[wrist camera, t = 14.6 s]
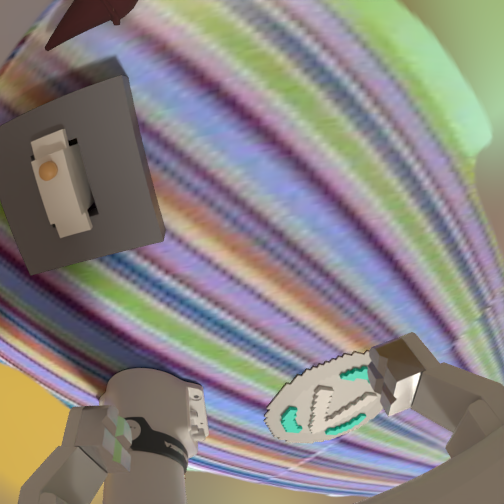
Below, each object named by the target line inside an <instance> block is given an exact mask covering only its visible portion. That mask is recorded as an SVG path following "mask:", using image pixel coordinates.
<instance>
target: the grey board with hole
mask: <svg viewBox="0 0 504 504" xmlns="http://www.w3.org/2000/svg"><path fill="white" fill-rule="evenodd" d="M62 129H65V130H66V135H67V139H68V141H70V140H73V139H75V138H77V141H78V145H79V148H80V152H81V156H82V160H83V163H84V167H85V171H86V174H87V177H88V181H89V184H90V188H91V191H92V194H93V197H94V201H95V204H96V207H97V208H95V209H91V210H88V214H89V217H90V220H91V223H92V226H93V227H92V229H91V230H87V231H84V232H80V233H76V234H73V235H69V236H66V237H62V238H60V236H59V234H58V231H57V228H56V225H55V224H50V222H49V219H48V216H47V213H46V210H45V207H44V204H43V201H42V198H41V195H40V191H39V188H38V185H37V181H36V178H35V174H34V171H33V167H32V164H31V162H32V161H34V160H35V157H34V153H33V149H32V145H31V142H32V141H35V140H37V139H39V138H42V137H44V136H46V135H49V134H51V133H54V132H57V131H59V130H62ZM0 200H1V203H2V206H3V209H4V212H5V215H6V218H7V220H8V223H9V226H10V228H11V231H12V234H13V236H14V239H15V241H16V243H17V246H18V248H19V251H20V253H21V255H22V258H23V260H24V262H25V264H26V267H27V269H28V271H29V273H30V275H34V274H38V273H42V272H45V271H49V270H53V269H56V268H60V267H64V266H68V265H71V264H75V263H79V262H83V261H87V260H91V259H94V258H98V257H102V256H106V255H110V254H114V253H118V252H122V251H126V250H130V249H134V248H138V247H142V246H146V245H150V244H154V243H159V242H163V241H164V236H165V232H166V229H165V226H164V222H163V219H162V215H161V212H160V208H159V205H158V201H157V197H156V194H155V190H154V186H153V182H152V179H151V175H150V171H149V167H148V163H147V159H146V155H145V151H144V147H143V143H142V138H141V134H140V130H139V126H138V121H137V117H136V112H135V108H134V103H133V98H132V93H131V88H130V83H129V78H128V77H126V76H123V75H120V76H116V77H113V78H110V79H107V80H104V81H101V82H99V83H96V84H93V85H90V86H88V87H85V88H82V89H80V90H77V91H74V92H72V93H69V94H67V95H64V96H62V97H60V98H57V99H55V100H53V101H50V102H48V103H46V104H44V105H41V106H39V107H37V108H35V109H33V110H31V111H29V112H26V113H24V114H22V115H20V116H18V117H16V118H14V119H12V120H11V121H9V122H7V123H5V124H3V125H1V126H0Z"/></svg>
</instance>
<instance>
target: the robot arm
mask: <svg viewBox="0 0 504 504" xmlns="http://www.w3.org/2000/svg"><path fill="white" fill-rule="evenodd" d="M369 357H370V359H371V360H372V361H371V362H370V363H369V365H368V370H367V373H368V379H369V382H370V385H371V387H372V389H373V391H374V392H376V393H378V394H380V395H381V398H380V403H381V405H382V407H383V408H384V410H385V412H386V414H387V415H388V416H391V415H394V414H396V413H399V412H401V411H404V410H406V409H408V408H411V409H413V410H414V411H416V412H418V413H420V414H421V415H423V416H425V417H426V418H428V419H430V420H432V421H433V422H435V423H437V424H439V425H440V426H442V427H444V428H446V429H447V430H449V431H451V432H453V435H452V436H451V438H450V440H449V441H448V443H447V445H446V450H447V452H448V453H449V455H450V457H451V459H450V460H448V461H446V462H445V463H443V464H441V465H439V466H437V467H435V468H434V469H432V470H430V471H428V472H426V473H424V474H422V475H420V476H418V477H416V478H414V479H412V480H410V481H408V482H405V483H403V484H401V485H399V486H397V487H394V488H392V489H390V490H387V491H385V492H383V493H380V494H378V495H375V496H373V497H370V498H368V499H365V500H362V501H360V502H357V503H354V504H504V386H503V385H502V384H501V383H498V382H495V381H492V380H490V379H487V378H484V377H481V376H479V375H476V374H473V373H471V372H468V371H465V370H463V369H460V368H457V367H455V366H452V365H449V364H447V363H444V362H443V363H441V364H440V363H439V362H438V361H437V359H436V358H435V357H434V356H433V354H432V353H431V352H430V351H429V350H428V348H427V347H426V346H425V345H424V344H423V342H422V341H421V340H420V339H419V338H418V336H417V335H416V334H415V333H413V332H411V333H409V334H406V335H404V336H401V337H399V338H395V339H392V340H390V341H387V342H384V343H382V344H379V345H376V346H374V347H371V349H370V350H369ZM99 405H100V406H82V407H72V409H71V410H70V412H69V416H68V420H67V424H66V428H65V432H64V437H63V441H62V445H61V446H58V447H57V448H56V449H55V450H54V451H53V452H52V453H51V455H50V456H49V457H48V458H47V459H46V460H45V461H44V462H43V463H42V464H41V466H40V467H39V468H38V469H37V470H36V471H35V472H34V473H33V474H32V476H31V477H30V478H29V479H28V480H27V481H26V482H25V483H24V485H23V486H22V487H21V490H20V495H19V500H18V504H90V503H91V501H92V500H93V498H94V496H95V495H96V493H97V492H98V490H99V488H100V487H101V485H102V484H103V482H104V492H103V504H187V500H186V491H185V480H184V479H185V478H184V475H185V473H186V470H187V467H188V459H189V458H191V457H193V456H194V455H196V454H197V452H198V441H204V440H205V437H207V436H208V435H209V428H208V421H207V414H206V406H205V399H204V391H203V387H202V386H200V385H198V384H194V383H190V382H185V381H182V380H180V379H178V378H177V377H175V376H173V375H171V374H168V373H166V372H163V371H159V370H155V369H148V368H134V369H128V370H124V371H121V372H119V373H117V374H115V375H114V376H113V377H112V378H111V379H110V380H109V382H108V384H107V388H106V392H105V393H104V394H103V395H102V396H101V397H100V399H99Z"/></svg>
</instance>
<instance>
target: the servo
mask: <svg viewBox="0 0 504 504" xmlns="http://www.w3.org/2000/svg"><path fill="white" fill-rule="evenodd" d="M31 145H32V149H33V153H34V157H35V160H34V161H32V162H31V164H32V167H33V171H34V174H35V178H36V181H37V185H38V188H39V191H40V195H41V198H42V201H43V204H44V207H45V210H46V213H47V216H48V219H49V222H50V224H55V225H56V228H57V231H58V234H59V236H60V238H62V237H66V236H69V235H73V234H76V233H80V232H84V231H87V230H91V229H92V227H93V226H92V223H91V220H90V217H89V214H88V211H87V209H88V208H89V207H90V206H91V205H92V204H93V203H94V202H95V201H94V197H93V194H92V191H91V188H90V184H89V181H88V177H87V174H86V171H85V167H84V163H83V160H82V156H81V152H80V148H79V145H78V144H75V145H72V146H69V143H68V139H67V135H66V130H65V129H62V130H59V131H57V132H54V133H51V134H49V135H46V136H44V137H42V138H39V139H37V140H35V141H32V142H31Z"/></svg>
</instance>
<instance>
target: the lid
mask: <svg viewBox="0 0 504 504" xmlns="http://www.w3.org/2000/svg"><path fill="white" fill-rule="evenodd" d="M371 361H372V360H371V359H370V357H369V351H366V352H365V353H364V354H362V353H358V352H353V353H352V355H349V354H345V353H344V355H343V356H342V357H340V356H338V357H337V358H336V359H331V361H330V362H327V361H325V363H324V364H319V365H318V366H317V367H314V366H313V367H312V368H311V369H306V370H305V371H304V373H303V374H302V375H297V376H296V377H295V378H294V380H293V381H292V382H291V383H286V384H285V385H284V387H283V388H282V389H281V390H280V392H279V393H278V394H277V395H276V397H275V398H274V399H273V400H272V402H271V403H270V404H269V405H268V406H267V409H269V410H268V412H267V413H266V414H265V415H264V417H267V418H266V419H265V420H264V422H266V423H265V424H266V425H268V426H267V427H270V428H269V430H271V431H270V432H273V433H272V435H273V437H279V438H278V439H279V440H286V442H293V443H314V442H323V441H324V440H331V439H332V438H336V437H337V436H340V435H344V434H345V433H349V432H350V431H353V430H354V429H358V428H359V427H360V426H361V425H365V424H366V423H367V422H368V421H369V420H370V419H373V418H374V417H375V416H376V415H377V414H378V413H379V412H380V411H381V410H382V409H383V407H382V405H381V403H380V398H381V395H380V394H378V393H376V392H374V391H373V389H372V387H371V385H370V382H369V379H368V373H367V370H368V365H369V363H370V362H371Z"/></svg>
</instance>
